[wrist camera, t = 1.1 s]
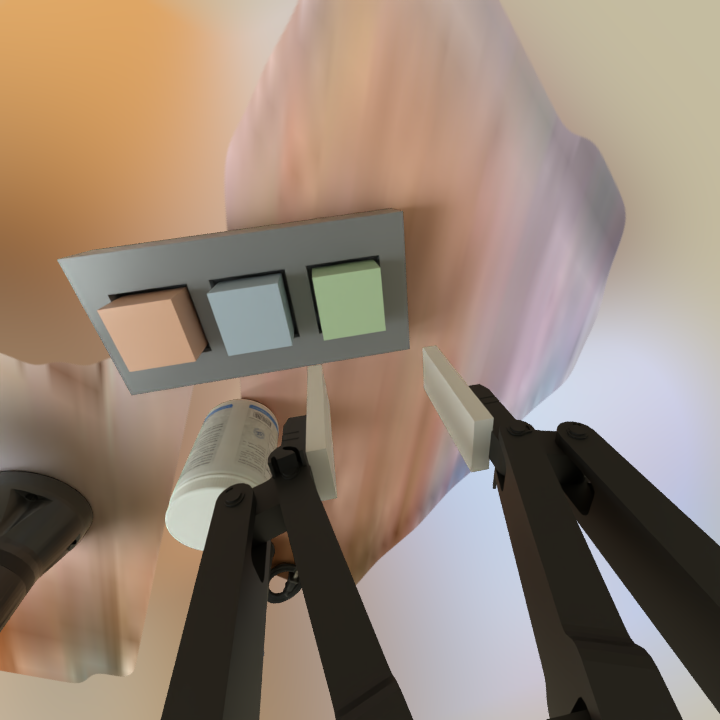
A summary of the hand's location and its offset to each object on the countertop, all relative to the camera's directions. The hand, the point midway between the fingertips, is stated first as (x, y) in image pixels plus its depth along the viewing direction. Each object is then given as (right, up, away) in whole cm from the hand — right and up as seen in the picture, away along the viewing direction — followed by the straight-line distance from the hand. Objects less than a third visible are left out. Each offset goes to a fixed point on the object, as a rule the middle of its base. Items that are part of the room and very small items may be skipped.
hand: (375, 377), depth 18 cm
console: (-12, +8, +18) cm, 23 cm away
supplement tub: (-17, -8, +26) cm, 31 cm away
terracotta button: (-20, +5, +14) cm, 25 cm away
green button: (-2, +8, +15) cm, 17 cm away
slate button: (-11, +6, +14) cm, 19 cm away
